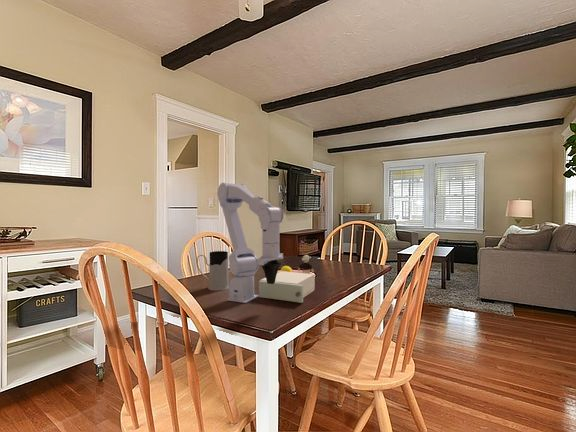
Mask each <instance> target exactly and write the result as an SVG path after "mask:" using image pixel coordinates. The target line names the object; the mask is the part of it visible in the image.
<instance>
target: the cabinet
mask: <svg viewBox="0 0 576 432" xmlns="http://www.w3.org/2000/svg"><path fill="white" fill-rule="evenodd" d="M315 275H316V274H315V273H310V274H307V273H302V272H295V271H292V272H285V271H281V270H280V271H279V272H278V271H277V275H276V279H275V282H278V283H288V284H297V285H303V299H304V298H305V297H307V296H308V295H309V294H311V293H312V292H314V291H315V290H316V289H315V288H316V284H315V283H316V281H315V279H316V276H315ZM259 281H267V280H266V277H264V278H261V279H260V280H259Z"/></svg>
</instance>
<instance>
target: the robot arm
mask: <svg viewBox="0 0 576 432" xmlns="http://www.w3.org/2000/svg"><path fill="white" fill-rule="evenodd" d="M216 194H217V197H218V202H219V206H220V207H221V208H222V212H223V216H224V220H225V223H226V226H227V227H226V228H227V231H228V235H229V238H230V243H231V245H232V246H231V247H232V249H233V250H232V251H231V253H230V254H229V255H228V269H229V270H230V272H231V274H232V275H233V278H231V279H230V281H229V282H228V284H229V289H228V295H229V296H228V298H227V301H228V302H229V301H230V302H237V303H242V304H246V303H248V302H251V301H252V300H254V299H257V298H260V297H259V294H255V275H256V274H257V271H258V269H259V266H261V268H262V270H263V272H264V274H265V278H266V280H267V283H268V284H274V283H275V279H276V275H277V273H278V271H279V268H280V267H281V265H282V262H281V261H278V260H283V259H284V252H283V253H281V252H280V251H281V250H280V242H281V241H280V237H281V236H280V228H281V227H280V225H281V223H282V221H283V220H284V212H283V209H282V208H281V207H280V206H277V205H276V206H275V205H274V206H273V205H272V203H270V202H268V201H267V200H265V199H264V197H263V196H262V195H261V196H260V195H258V196H255V195H254V194H253V193H252V192H251V191H250V190H249V189H248V186H247V185H245V184H244V183H228V182H227V183H225V182H221V183H220V184H219V185H218V187H217V192H216ZM243 202H245V203H246V204H247V205H248V208H249V210H250V211H251V212H253V214H255V215H256V216H257V217H258V221H259V223H260V228H261V231H262V234H261V235H262V239H261V240H262V241H261V242H262V244H261V245H262V248H261V249H262V252H261V256H260V257H259V258H258V257H257V256H256V253H255V251H254V250H253V249H251V248H249V247H248V244H247V241H246V237H245V234H244V233H245V232H244V230H243V227H242V224H241V220H240V217H239V213H238V208H240V207H242V205H243Z"/></svg>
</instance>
